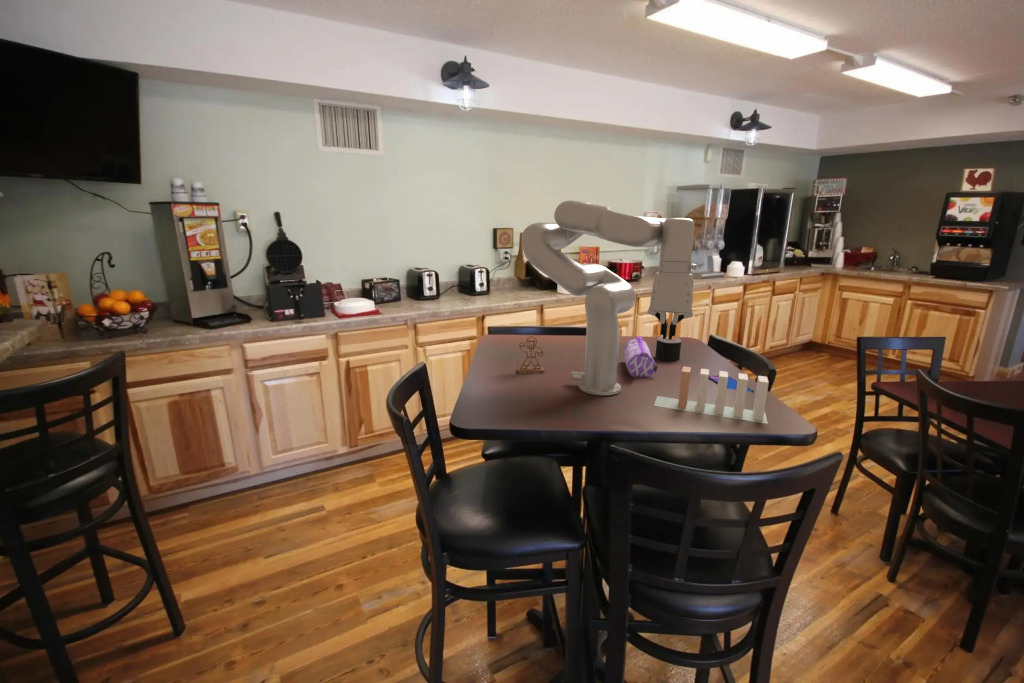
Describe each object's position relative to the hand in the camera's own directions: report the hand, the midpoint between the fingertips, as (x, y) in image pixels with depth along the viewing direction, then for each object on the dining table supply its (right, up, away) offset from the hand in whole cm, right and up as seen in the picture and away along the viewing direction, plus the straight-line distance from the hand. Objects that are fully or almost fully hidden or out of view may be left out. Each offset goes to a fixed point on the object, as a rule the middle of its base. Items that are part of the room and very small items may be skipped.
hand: (667, 337), depth 123 cm
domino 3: (+13, -19, -1) cm, 23 cm away
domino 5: (+21, -20, -5) cm, 30 cm away
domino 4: (+17, -19, -3) cm, 26 cm away
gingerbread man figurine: (-35, -11, +33) cm, 49 cm away
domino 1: (+5, -18, +2) cm, 19 cm away
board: (+11, -20, 0) cm, 23 cm away
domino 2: (+9, -18, 0) cm, 21 cm away
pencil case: (+2, -11, +37) cm, 38 cm away
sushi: (+17, -7, +51) cm, 55 cm away
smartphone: (+27, -15, +23) cm, 38 cm away
